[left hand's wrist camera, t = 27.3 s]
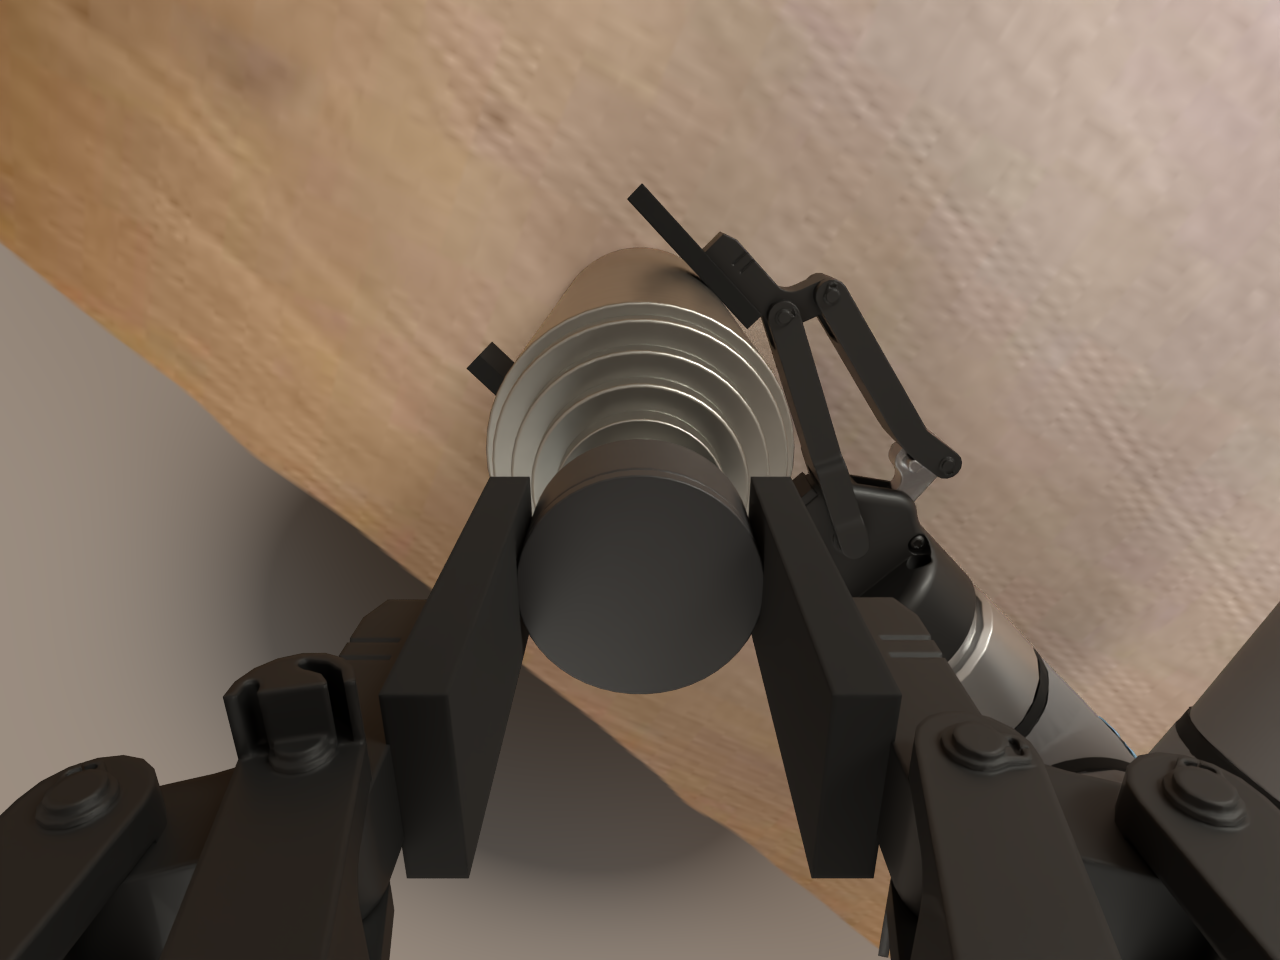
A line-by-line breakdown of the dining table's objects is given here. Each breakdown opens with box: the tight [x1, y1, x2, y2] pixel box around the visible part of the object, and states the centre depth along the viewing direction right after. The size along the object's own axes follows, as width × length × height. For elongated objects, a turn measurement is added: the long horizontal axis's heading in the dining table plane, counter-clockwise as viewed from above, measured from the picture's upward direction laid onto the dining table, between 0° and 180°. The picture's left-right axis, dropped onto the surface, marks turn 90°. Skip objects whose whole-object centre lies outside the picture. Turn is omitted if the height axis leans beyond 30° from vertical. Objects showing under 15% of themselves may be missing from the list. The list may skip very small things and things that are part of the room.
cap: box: [517, 439, 764, 694], centre depth 14 cm, size 4×4×2 cm
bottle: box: [486, 248, 794, 516], centre depth 25 cm, size 8×8×24 cm
